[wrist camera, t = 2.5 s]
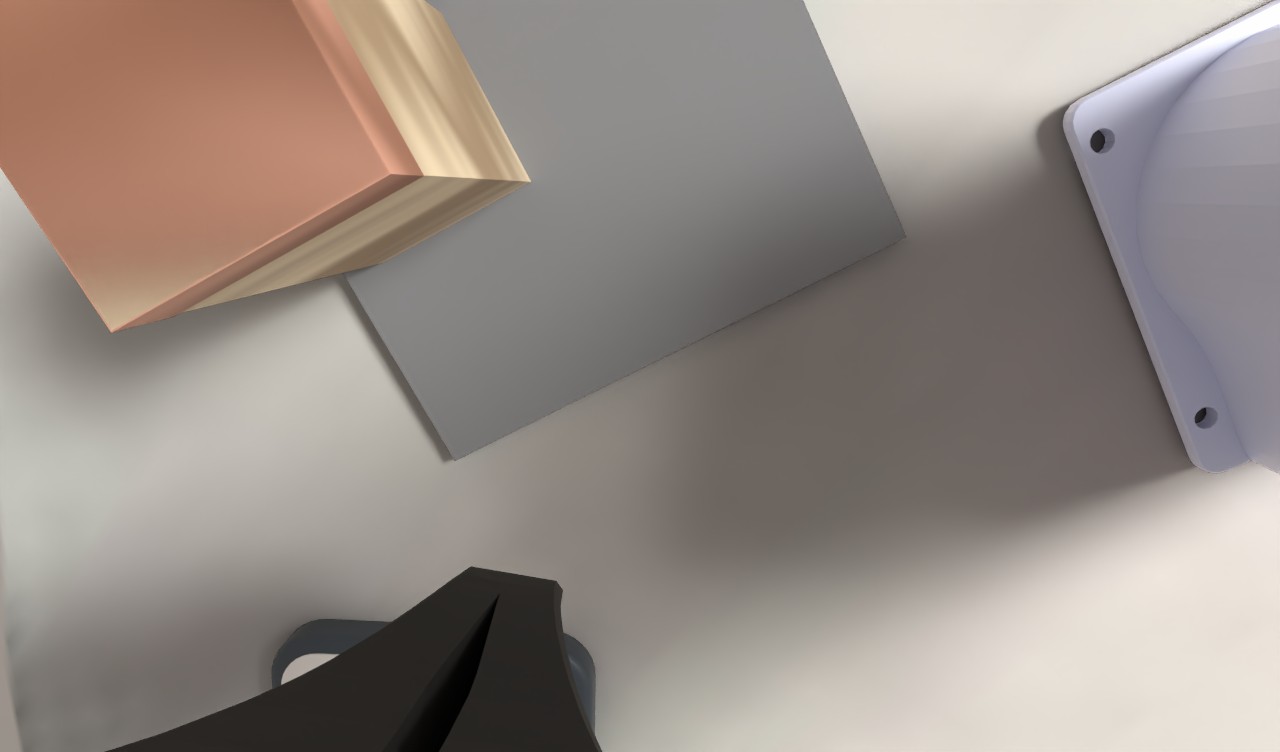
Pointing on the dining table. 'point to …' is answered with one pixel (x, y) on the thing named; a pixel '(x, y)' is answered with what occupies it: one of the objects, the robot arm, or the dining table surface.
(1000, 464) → the dining table surface
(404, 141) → the birch block
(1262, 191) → the robot arm
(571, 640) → the phone case
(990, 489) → the dining table surface
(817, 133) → the rubber mat
